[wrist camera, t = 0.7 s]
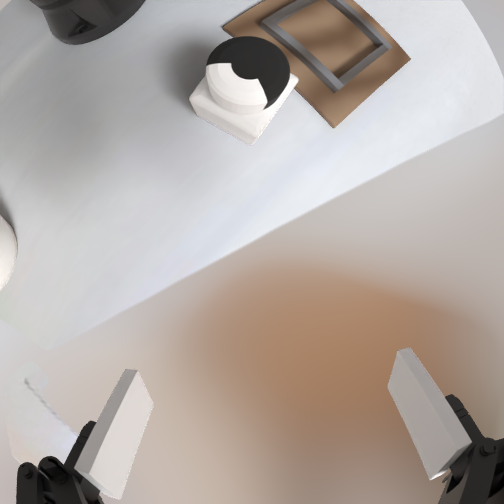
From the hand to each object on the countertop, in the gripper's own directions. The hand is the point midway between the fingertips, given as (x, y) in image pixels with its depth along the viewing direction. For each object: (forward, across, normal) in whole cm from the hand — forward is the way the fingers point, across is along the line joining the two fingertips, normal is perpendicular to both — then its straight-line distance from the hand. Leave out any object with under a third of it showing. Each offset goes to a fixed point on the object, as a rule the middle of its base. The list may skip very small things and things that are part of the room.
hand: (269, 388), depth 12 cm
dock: (+22, +11, +27) cm, 36 cm away
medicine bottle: (+21, -1, +17) cm, 27 cm away
